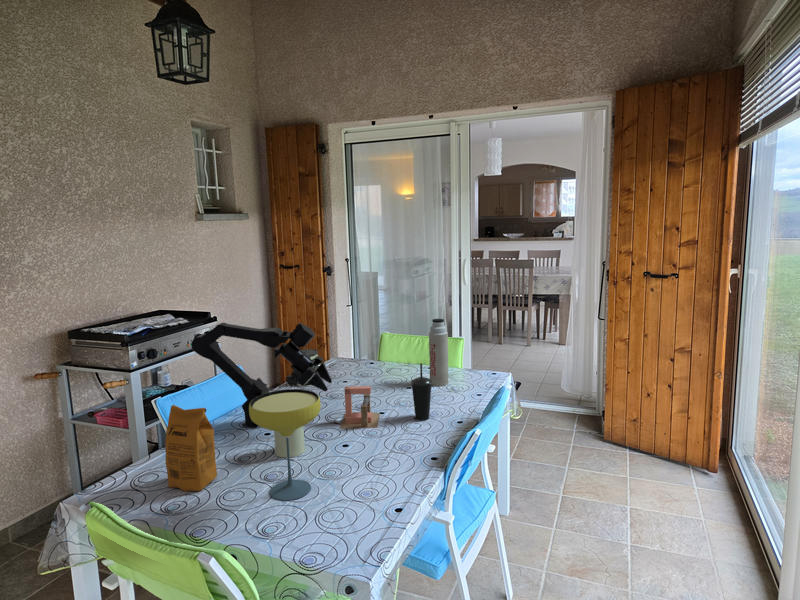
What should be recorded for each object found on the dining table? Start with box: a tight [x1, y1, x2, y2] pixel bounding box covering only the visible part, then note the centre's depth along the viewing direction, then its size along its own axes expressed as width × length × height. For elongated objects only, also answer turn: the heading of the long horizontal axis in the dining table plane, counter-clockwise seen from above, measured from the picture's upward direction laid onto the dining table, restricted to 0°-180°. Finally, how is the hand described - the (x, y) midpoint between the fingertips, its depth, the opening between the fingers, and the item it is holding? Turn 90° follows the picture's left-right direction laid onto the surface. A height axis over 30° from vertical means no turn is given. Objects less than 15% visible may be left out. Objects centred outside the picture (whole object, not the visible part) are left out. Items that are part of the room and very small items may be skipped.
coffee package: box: [165, 404, 218, 492], centre depth 145 cm, size 10×12×22 cm
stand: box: [338, 394, 381, 430], centre depth 186 cm, size 13×14×8 cm
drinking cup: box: [410, 363, 433, 421], centre depth 188 cm, size 8×8×20 cm
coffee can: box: [297, 348, 319, 387], centre depth 233 cm, size 10×10×14 cm
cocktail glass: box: [249, 388, 321, 502], centre depth 139 cm, size 18×18×25 cm
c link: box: [344, 385, 373, 423], centre depth 186 cm, size 9×5×12 cm, turn 88°
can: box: [273, 426, 306, 459], centre depth 164 cm, size 9×9×12 cm
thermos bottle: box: [428, 318, 449, 387], centre depth 226 cm, size 8×8×28 cm
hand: (329, 386), depth 185 cm, fingers open, 9 cm apart
